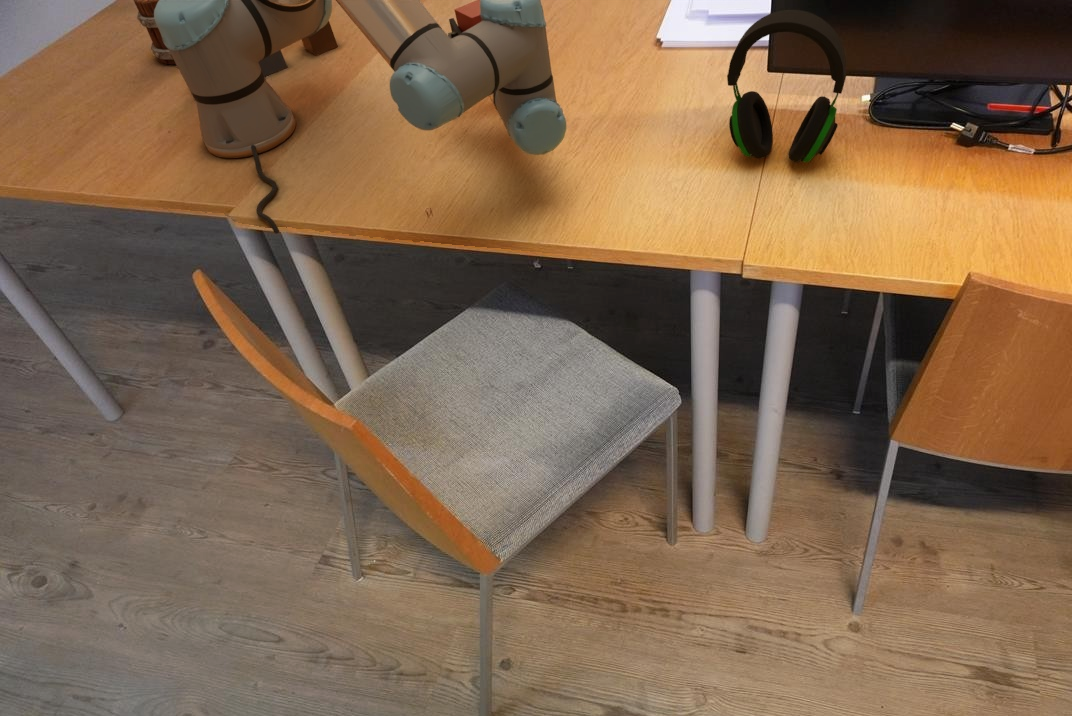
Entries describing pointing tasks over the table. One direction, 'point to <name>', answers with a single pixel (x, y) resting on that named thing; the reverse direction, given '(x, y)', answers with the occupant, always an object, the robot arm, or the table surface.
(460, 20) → the red box
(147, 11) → the mug
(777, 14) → the headphones
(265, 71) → the line block
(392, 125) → the table surface
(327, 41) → the line block
